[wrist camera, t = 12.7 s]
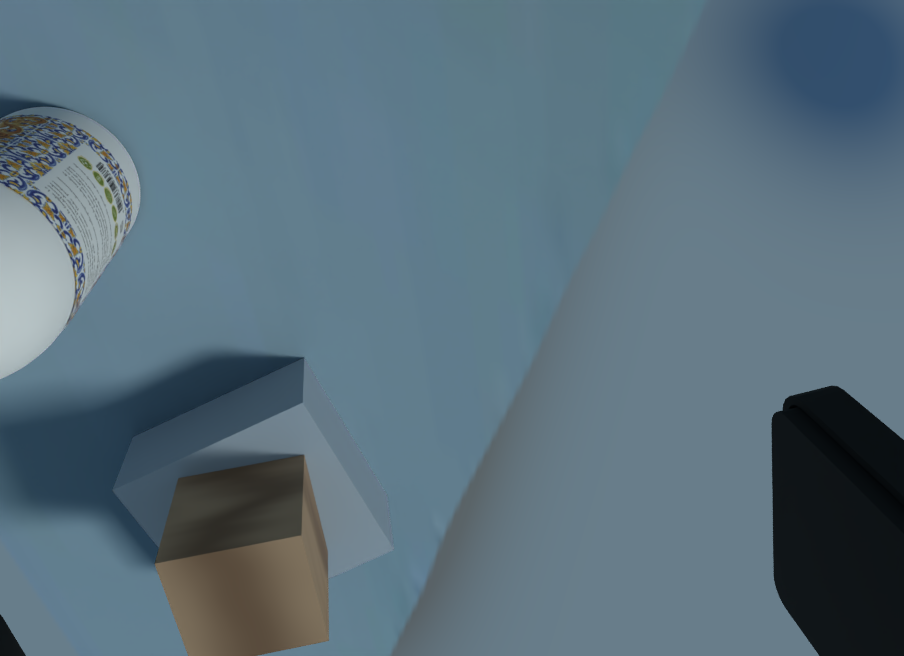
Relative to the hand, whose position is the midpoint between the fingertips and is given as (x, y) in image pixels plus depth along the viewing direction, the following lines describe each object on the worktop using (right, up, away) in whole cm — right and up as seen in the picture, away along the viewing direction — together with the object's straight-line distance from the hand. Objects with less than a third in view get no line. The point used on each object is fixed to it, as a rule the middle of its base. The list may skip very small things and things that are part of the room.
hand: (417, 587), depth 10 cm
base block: (-10, -4, +35) cm, 36 cm away
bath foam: (-17, +10, +27) cm, 33 cm away
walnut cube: (-9, -6, +30) cm, 32 cm away
